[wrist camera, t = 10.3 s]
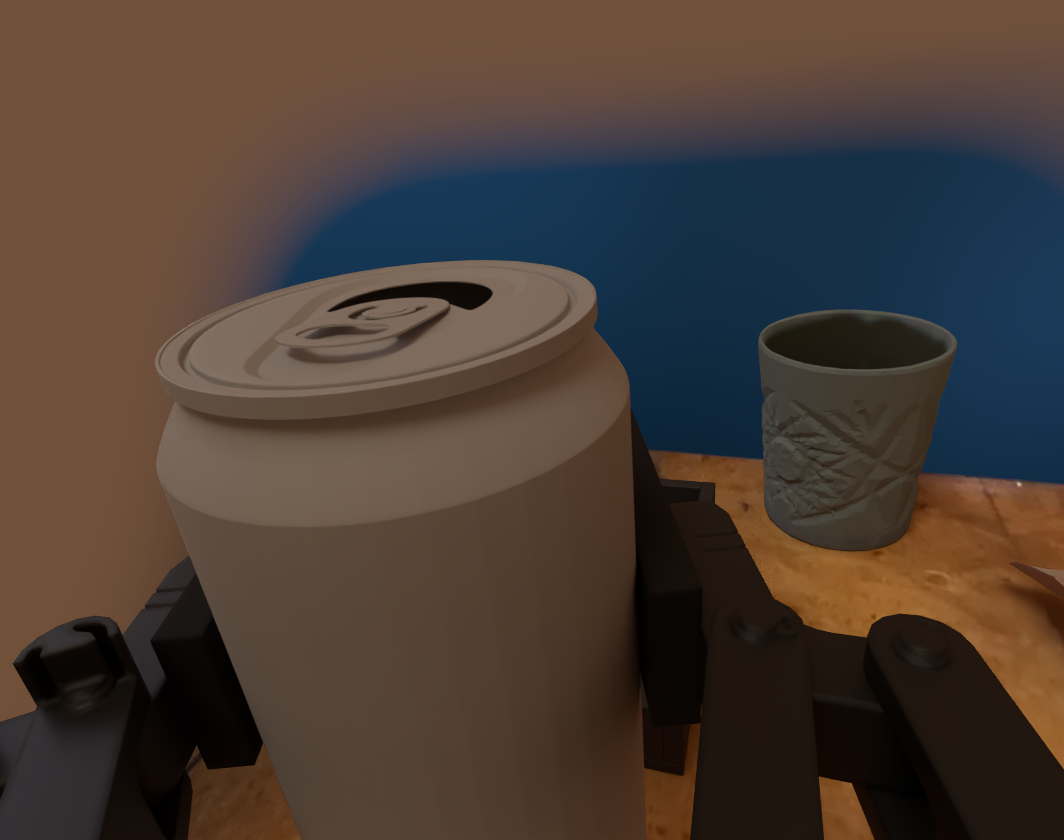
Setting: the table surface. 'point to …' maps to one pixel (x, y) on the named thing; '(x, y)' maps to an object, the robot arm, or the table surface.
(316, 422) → the beverage can
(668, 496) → the tray
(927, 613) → the table surface
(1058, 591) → the decorative flower
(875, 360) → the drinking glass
